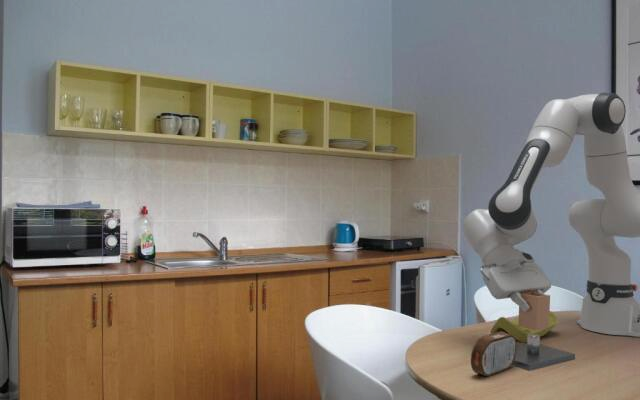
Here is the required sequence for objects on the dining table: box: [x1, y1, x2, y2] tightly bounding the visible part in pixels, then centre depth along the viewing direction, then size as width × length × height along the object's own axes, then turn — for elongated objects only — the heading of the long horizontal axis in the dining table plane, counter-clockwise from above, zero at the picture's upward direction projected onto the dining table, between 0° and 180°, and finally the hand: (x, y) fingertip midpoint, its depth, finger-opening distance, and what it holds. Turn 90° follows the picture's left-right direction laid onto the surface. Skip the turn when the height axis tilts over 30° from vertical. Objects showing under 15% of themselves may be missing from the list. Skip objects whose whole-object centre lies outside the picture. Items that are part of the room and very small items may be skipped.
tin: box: [470, 331, 518, 377], centre depth 121 cm, size 15×3×8 cm, turn 131°
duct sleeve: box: [518, 292, 551, 331], centre depth 133 cm, size 5×5×8 cm
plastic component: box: [490, 310, 559, 343], centre depth 156 cm, size 20×7×10 cm
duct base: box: [511, 334, 576, 371], centre depth 133 cm, size 18×12×5 cm, turn 124°
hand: (536, 308), depth 133 cm, fingers closed on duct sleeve, 5 cm apart
